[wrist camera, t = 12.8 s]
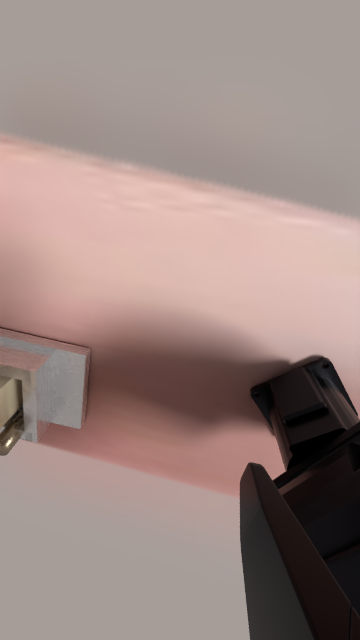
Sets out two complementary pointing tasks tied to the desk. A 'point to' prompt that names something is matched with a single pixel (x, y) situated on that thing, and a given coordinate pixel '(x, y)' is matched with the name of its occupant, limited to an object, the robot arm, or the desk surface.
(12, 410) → the tan wooden block
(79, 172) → the desk surface
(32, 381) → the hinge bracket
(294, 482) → the robot arm
